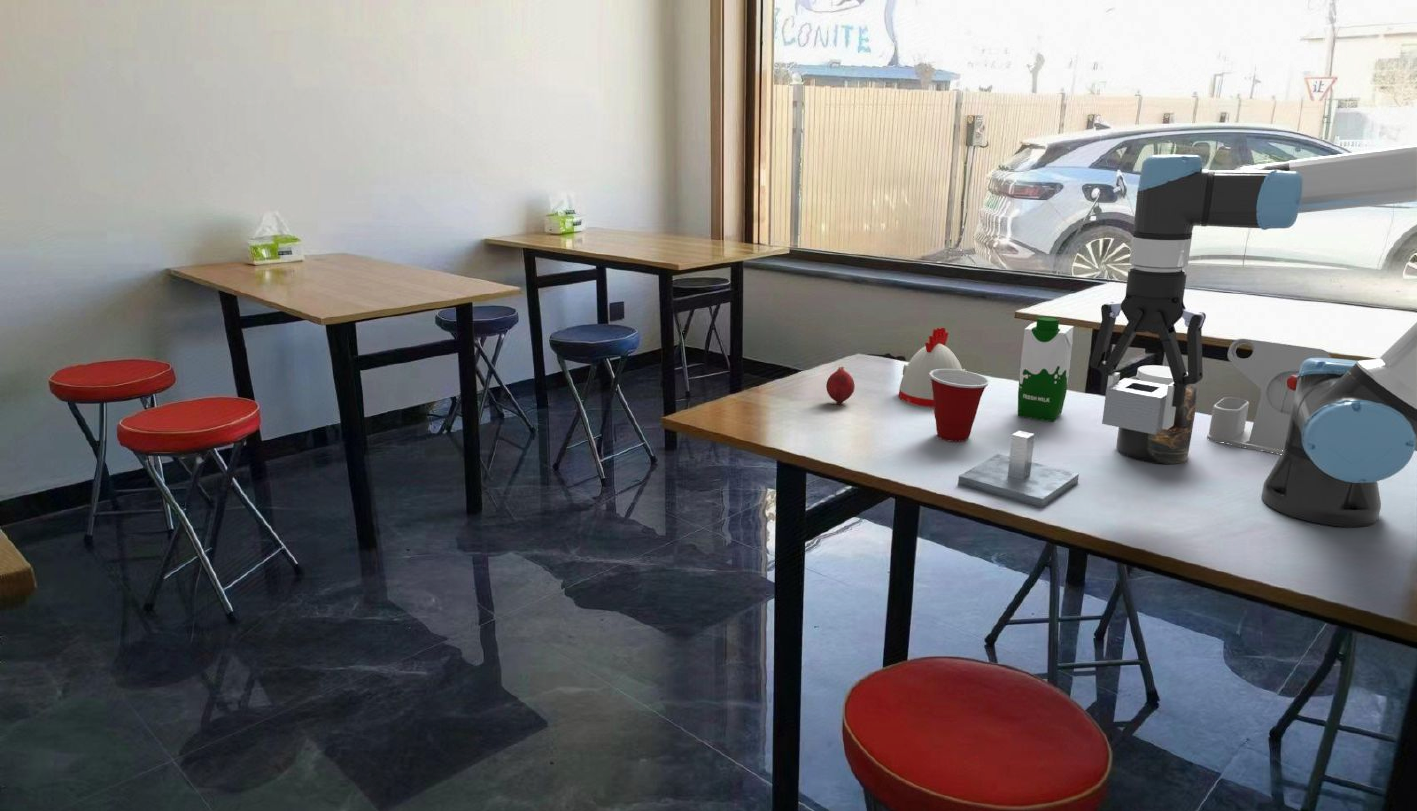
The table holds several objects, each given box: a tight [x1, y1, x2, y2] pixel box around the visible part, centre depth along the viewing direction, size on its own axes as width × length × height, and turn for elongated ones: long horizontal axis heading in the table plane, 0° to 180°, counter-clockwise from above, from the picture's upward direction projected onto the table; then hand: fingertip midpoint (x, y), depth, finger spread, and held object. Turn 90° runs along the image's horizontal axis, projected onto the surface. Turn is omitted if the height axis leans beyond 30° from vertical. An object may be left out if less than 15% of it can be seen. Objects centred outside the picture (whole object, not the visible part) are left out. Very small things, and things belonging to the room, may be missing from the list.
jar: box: [1116, 364, 1198, 465], centre depth 162 cm, size 12×12×15 cm
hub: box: [1101, 377, 1168, 435], centre depth 136 cm, size 8×8×6 cm
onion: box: [825, 365, 855, 404], centre depth 191 cm, size 6×6×8 cm
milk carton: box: [1017, 316, 1075, 423], centre depth 182 cm, size 9×9×20 cm
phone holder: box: [1206, 338, 1332, 454], centre depth 166 cm, size 17×10×18 cm, turn 47°
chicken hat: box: [898, 327, 967, 408], centre depth 195 cm, size 14×14×15 cm
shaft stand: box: [957, 430, 1080, 509], centre depth 149 cm, size 14×14×8 cm
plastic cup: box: [929, 369, 991, 442], centre depth 171 cm, size 11×11×12 cm
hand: (1138, 421), depth 137 cm, fingers closed on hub, 8 cm apart
